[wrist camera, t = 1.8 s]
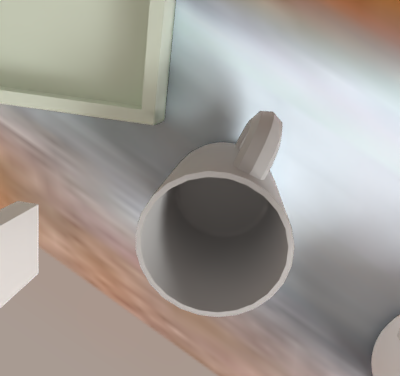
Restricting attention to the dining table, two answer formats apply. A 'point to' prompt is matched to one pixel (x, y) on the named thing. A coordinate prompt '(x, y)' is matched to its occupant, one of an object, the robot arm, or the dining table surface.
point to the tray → (87, 57)
